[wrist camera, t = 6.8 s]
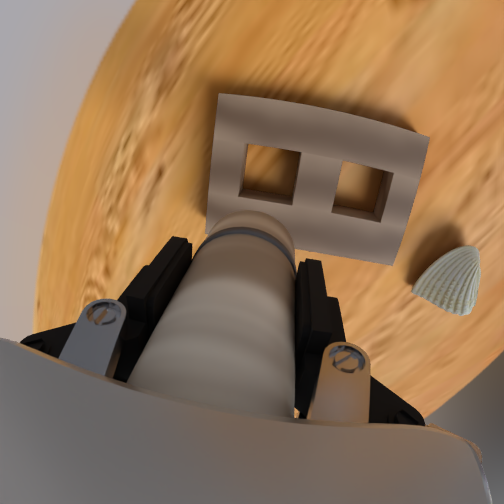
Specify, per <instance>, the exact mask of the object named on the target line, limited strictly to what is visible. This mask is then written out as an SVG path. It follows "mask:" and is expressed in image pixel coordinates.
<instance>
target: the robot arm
mask: <svg viewBox="0 0 504 504" xmlns="http://www.w3.org/2000/svg"><path fill="white" fill-rule="evenodd" d="M191 263H192V243H188V240H187V239H186V238H180V237H174V236H172V237H171V239H170V240H169V241H168V242H167V243H166V245H165V246H164V247H163V248H162V250H161V251H160V252H159V253H158V255H157V256H156V257H155V258H154V260H153V261H152V262H151V263H150V265H145V266H144V267H143V268H142V269H141V270H140V272H139V273H138V274H137V275H136V277H135V278H134V279H133V280H132V282H131V283H130V284H129V286H128V287H127V288H126V289H125V291H124V292H123V293H122V295H121V296H120V297H119V298H118V300H113V299H100V300H96V301H93V302H91V303H90V304H88V305H87V306H86V307H85V308H84V310H83V311H82V313H81V315H80V317H79V319H78V320H77V322H76V323H73V324H69V325H65V326H62V327H58V328H54V329H51V330H47V331H43V332H40V333H36V334H32V335H30V336H27V337H26V338H24V339H23V340H22V341H21V342H20V343H17V342H14V341H11V340H8V339H3V338H0V504H493V503H492V499H491V494H490V490H489V486H488V483H487V479H486V476H485V473H484V470H483V468H482V453H481V450H480V449H479V448H478V446H477V445H476V444H474V443H473V442H471V441H469V440H466V439H464V438H462V437H460V436H458V435H455V434H453V433H451V432H449V431H447V430H445V429H443V428H441V427H438V426H436V425H434V424H432V423H430V424H429V425H426V424H425V422H424V419H423V417H422V415H421V414H420V413H419V412H418V411H417V410H416V409H415V408H414V407H412V406H411V405H410V404H408V403H407V402H405V401H404V400H403V399H401V398H400V397H399V396H397V395H396V394H395V393H393V392H392V391H391V390H389V389H388V388H387V387H385V386H384V385H383V384H381V383H380V382H379V381H377V380H376V379H375V378H373V377H372V376H371V375H370V365H371V364H370V359H369V357H368V355H367V354H366V352H365V351H364V350H362V349H361V348H360V347H358V346H356V345H354V344H351V343H348V342H346V339H345V333H344V328H343V322H342V317H341V312H340V307H339V302H338V299H337V298H335V297H328V296H327V292H326V286H325V280H324V274H323V268H322V263H321V261H319V260H313V259H307V258H306V260H305V262H302V261H300V263H299V267H298V271H297V275H296V280H295V403H294V407H295V408H296V409H297V410H298V413H297V417H296V418H290V417H281V416H273V415H266V414H259V413H253V412H246V411H240V410H235V409H229V408H224V407H218V406H213V405H209V404H204V403H199V402H195V401H190V400H186V399H182V398H178V397H174V396H170V395H166V394H162V393H158V392H155V391H151V390H148V389H144V388H141V387H137V386H134V385H131V384H128V383H127V381H128V379H129V377H130V375H131V373H132V371H133V369H134V367H135V365H136V363H137V361H138V359H139V358H140V356H141V354H142V352H143V350H144V348H145V346H146V344H147V342H148V340H149V339H150V337H151V335H152V333H153V331H154V329H155V327H156V326H157V324H158V322H159V320H160V318H161V316H162V315H163V313H164V311H165V309H166V307H167V306H168V304H169V302H170V300H171V298H172V297H173V295H174V293H175V291H176V289H177V288H178V286H179V284H180V282H181V281H182V279H183V277H184V275H185V274H186V272H187V270H188V268H189V267H190V265H191Z"/></svg>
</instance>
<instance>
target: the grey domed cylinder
mask: <svg viewBox="0 0 504 504" xmlns="http://www.w3.org/2000/svg"><path fill="white" fill-rule="evenodd" d="M296 275H297V271H296V266H295V249H294V243H293V240H292V237H291V235H290V233H289V232H288V230H287V229H286V228H285V226H284V225H283V224H282V223H281V222H279V221H278V220H277V219H275V218H274V217H272V216H270V215H268V214H266V213H263V212H259V211H254V210H242V211H236V212H233V213H230V214H228V215H226V216H224V217H223V218H221V219H220V220H219V221H218V222H217V223H216V224H215V225H214V226H213V228H212V229H211V231H210V232H209V234H208V236H207V237H206V239H205V240H204V242H203V243H202V244H201V245H200V247H199V248H198V250H197V251H196V253H195V255H194V257H193V259H192V263H191V265H190V267H189V268H188V270H187V272H186V274H185V275H184V277H183V279H182V281H181V282H180V284H179V286H178V288H177V289H176V291H175V293H174V295H173V297H172V298H171V300H170V302H169V304H168V306H167V307H166V309H165V311H164V313H163V315H162V316H161V318H160V320H159V322H158V324H157V326H156V327H155V329H154V331H153V333H152V335H151V337H150V339H149V340H148V342H147V344H146V346H145V348H144V350H143V352H142V354H141V356H140V358H139V359H138V361H137V363H136V365H135V367H134V369H133V371H132V373H131V375H130V377H129V379H128V381H127V383H128V384H131V385H134V386H137V387H141V388H144V389H148V390H151V391H155V392H158V393H162V394H166V395H170V396H174V397H178V398H182V399H186V400H190V401H195V402H199V403H204V404H209V405H213V406H218V407H224V408H229V409H235V410H240V411H246V412H253V413H259V414H266V415H273V416H281V417H290V418H294V403H295V280H296Z"/></svg>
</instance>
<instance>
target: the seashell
mask: <svg viewBox="0 0 504 504" xmlns="http://www.w3.org/2000/svg"><path fill="white" fill-rule="evenodd" d="M479 264H480V257H479V251H478V249H477V248H476V247H473V246H462V247H458V248H455V249H453V250H451V251H450V252H448V253H446V254H444V255H443V256H442V257H440V258H439V259H437V260H436V261H435V262H434V263H433V264H431V265H430V266H429V267H428V268H427V269H426V271H425V272H424V273H423V274H422V275H421V276H420V277H419V279H418V280H417V281H416V283H415V285H414V286H413V288H412V290H411V292H412V293H414V294H416V295H419V296H420V297H423V298H424V299H426V300H428V301H430V302H431V303H433V304H435V305H437V306H438V307H439V308H442V309H444V310H445V311H447V312H451V313H452V314H458V315H460V316H463V315H467V314H469V313H470V312H471V311H472V307H473V306H475V304H476V299H477V294H478V287H479V282H480V275H481V270H480V265H479Z"/></svg>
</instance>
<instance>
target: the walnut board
mask: <svg viewBox="0 0 504 504" xmlns="http://www.w3.org/2000/svg"><path fill="white" fill-rule="evenodd" d="M429 139H430V137H427V136H424V135H422V134H419V133H416V132H412V131H409V130H406V129H403V128H400V127H396V126H393V125H390V124H386V123H383V122H379V121H376V120H372V119H368V118H364V117H360V116H356V115H352V114H348V113H344V112H339V111H335V110H330V109H325V108H321V107H316V106H310V105H305V104H299V103H294V102H288V101H281V100H275V99H267V98H260V97H252V96H243V95H233V94H222V93H219V95H218V104H217V112H216V121H215V130H214V139H213V148H212V158H211V169H210V180H209V191H208V203H207V216H206V229H205V234H209V232H210V231H211V229H212V228H213V226H214V225H215V224H216V223H217V222H218V221H219V220H220V219H221V218H223V217H224V216H226V215H228V214H230V213H233V212H236V211H242V210H254V211H259V212H263V213H266V214H268V215H270V216H272V217H274V218H275V219H277V220H278V221H279V222H281V223H282V224H283V225H284V226H285V228H286V229H287V230H288V232H289V233H290V235H291V237H292V240H293V243H294V249H300V250H306V251H311V252H317V253H323V254H329V255H334V256H340V257H346V258H351V259H357V260H363V261H368V262H374V263H380V264H385V265H391V266H393V263H394V261H395V258H396V255H397V252H398V249H399V247H400V244H401V241H402V238H403V235H404V232H405V229H406V226H407V222H408V219H409V216H410V213H411V209H412V206H413V203H414V199H415V196H416V192H417V188H418V185H419V181H420V177H421V173H422V169H423V165H424V161H425V157H426V153H427V148H428V144H429ZM248 144H254V145H261V146H268V147H274V148H280V149H286V150H292V151H298V152H300V154H299V160H298V166H297V172H296V177H295V183H294V188H293V194H292V196H286V195H280V194H274V193H268V192H262V191H255V190H249V189H242V188H243V180H244V172H245V165H246V157H247V149H248ZM342 161H348V162H352V163H356V164H361V165H365V166H369V167H373V168H377V169H381V170H384V173H383V177H382V181H381V185H380V189H379V193H378V197H377V201H376V205H375V208H374V212H368V211H364V210H359V209H354V208H349V207H345V206H340V205H335V204H333V202H334V198H335V194H336V189H337V185H338V180H339V175H340V171H341V166H342Z"/></svg>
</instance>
